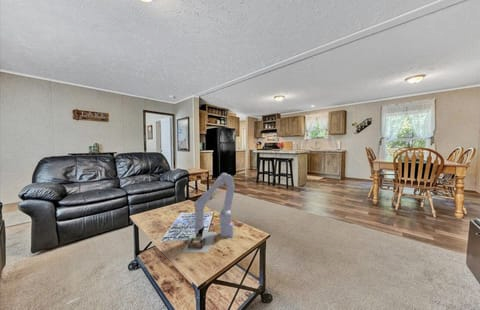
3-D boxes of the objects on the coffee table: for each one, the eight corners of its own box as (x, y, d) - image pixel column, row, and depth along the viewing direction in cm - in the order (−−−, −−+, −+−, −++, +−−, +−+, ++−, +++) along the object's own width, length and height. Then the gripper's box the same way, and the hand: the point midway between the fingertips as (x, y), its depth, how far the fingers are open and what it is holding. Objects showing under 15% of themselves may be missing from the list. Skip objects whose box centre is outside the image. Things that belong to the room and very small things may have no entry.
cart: (194, 241, 112) (194, 233, 112) (202, 242, 112) (202, 233, 112) (191, 247, 107) (191, 238, 106) (199, 247, 106) (199, 238, 106)
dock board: (216, 232, 125) (216, 232, 125) (208, 253, 101) (208, 252, 101) (194, 232, 126) (194, 231, 126) (181, 252, 102) (181, 251, 102)
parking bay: (205, 242, 112) (205, 238, 112) (202, 248, 105) (202, 244, 105) (192, 241, 113) (192, 238, 112) (188, 248, 105) (188, 244, 105)
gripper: (196, 214, 121) (197, 232, 122) (189, 223, 107) (190, 244, 108) (206, 214, 121) (207, 233, 122) (200, 223, 107) (201, 244, 107)
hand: (199, 238), depth 115 cm, fingers closed
